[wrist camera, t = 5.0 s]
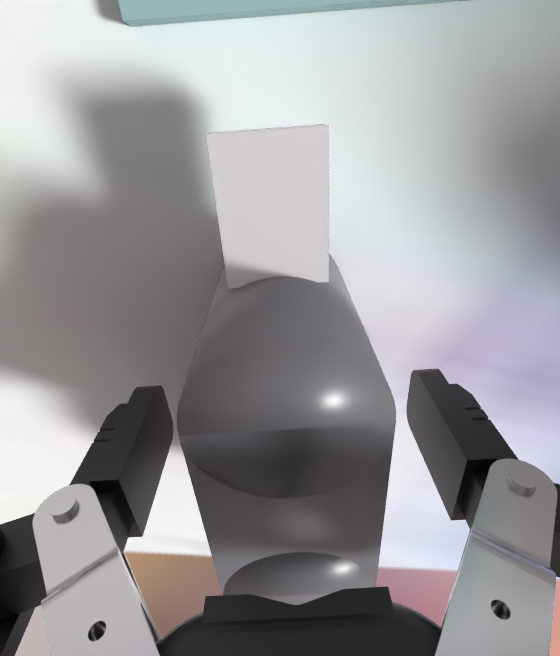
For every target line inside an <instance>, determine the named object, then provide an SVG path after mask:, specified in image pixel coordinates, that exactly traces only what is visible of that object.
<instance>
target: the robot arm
mask: <svg viewBox="0 0 560 656" xmlns="http://www.w3.org/2000/svg"><path fill="white" fill-rule="evenodd" d="M407 419H408V423H409V426H410V429H411V431H412V433H413V436H414V438H415V440H416V442H417V445H418V447H419V449H420V451H421V454H422V456H423V458H424V460H425V463H426V465H427V467H428V469H429V472H430V474H431V476H432V479H433V481H434V483H435V485H436V488H437V490H438V492H439V494H440V497H441V499H442V501H443V503H444V506H445V508H446V510H447V512H448V515H449V517H450V519H451V520H465V519H466V522H467V524H468V526H469V528H470V532H469V535H468V538H467V541H466V545H465V548H464V551H463V555H462V558H461V561H460V565H459V568H458V571H457V575H456V578H455V582H454V585H453V589H452V592H451V595H450V598H449V602H448V605H447V608H446V611H445V614H444V618H443V621H442V624H441V627H439V626H438V625H437V624H436V623H434V622H433V621H431V620H430V619H428V618H427V617H426V616H424V615H422V614H421V613H419V612H417V611H415V610H413V609H411V608H409V607H407V606H404V605H401V604H399V603H395V602H392V601H391V597H390V593H389V589H388V587H371V588H352V589H342V590H339V591H336V592H333V593H331V594H328V595H325V596H322V597H320V598H317V599H314V600H312V601H309V602H306V603H303V604H300V605H292V604H288V603H284V602H280V601H276V600H272V599H268V598H264V597H260V596H256V595H252V594H242V595H223V596H206V598H205V605H204V612H202V613H200V614H197V615H195V616H193V617H191V618H189V619H187V620H185V621H184V622H183V623H181V624H180V625H178V626H177V627H175V628H174V629H173V630H172V631H171V632H170V633H168V634H167V635H166V636H165V637H164V638H163V639H162V640H161V638H160V636H159V633H158V631H157V629H156V626H155V624H154V622H153V620H152V618H151V615H150V613H149V611H148V608H147V606H146V604H145V601H144V599H143V596H142V594H141V592H140V589H139V587H138V584H137V582H136V580H135V577H134V575H133V572H132V570H131V568H130V565H129V563H128V561H127V558H126V556H125V553H124V548H125V545H126V542H127V539H128V537H142V536H143V533H144V530H145V526H146V523H147V520H148V517H149V513H150V510H151V507H152V504H153V500H154V497H155V494H156V491H157V487H158V484H159V481H160V478H161V474H162V471H163V468H164V465H165V461H166V458H167V455H168V452H169V448H170V445H171V442H172V438H173V421H172V418H171V414H170V410H169V407H168V403H167V400H166V396H165V393H164V389H163V387H162V386H145V387H137V388H135V390H134V392H133V394H132V396H131V398H130V400H129V402H128V404H120V405H118V406H117V407H116V408H115V409H114V410H113V411H112V412H111V413H110V414H109V415H108V416H107V417H106V419H105V421H104V423H103V425H102V427H101V428H100V432H98V434H97V436H96V438H95V439H94V443H92V445H91V447H90V448H89V450H88V452H87V454H86V456H85V458H84V459H83V461H82V463H81V465H80V467H79V469H78V470H77V472H76V474H75V476H74V478H73V480H72V481H71V483H70V485H69V486H67V487H64V488H62V489H60V490H58V491H56V492H54V493H53V494H52V495H50V496H49V497H48V498H47V499H46V500H44V502H43V503H42V504H41V505H40V506H39V508H38V509H37V511H36V513H33V514H31V515H28V516H25V517H22V518H19V519H16V520H13V521H10V522H7V523H4V524H1V525H0V656H15V653H16V651H17V648H18V646H19V644H20V642H21V639H22V637H23V635H24V632H25V630H26V628H27V625H28V623H29V620H30V618H31V616H32V614H33V611H34V609H35V607H37V606H39V605H41V609H42V615H43V621H44V626H45V631H46V636H47V642H48V646H49V652H50V656H549V653H550V642H551V632H552V621H553V610H554V599H555V588H556V577H560V485H559V484H556V483H553V482H552V480H551V479H550V478H549V477H548V476H547V475H546V474H545V473H544V472H543V471H541V470H540V469H538V468H537V467H535V466H533V465H531V464H529V463H527V462H524V461H521V460H518V458H517V457H516V455H515V454H514V453H513V451H512V450H511V448H510V447H509V446H508V444H507V443H506V441H505V440H504V439H503V437H502V436H501V434H500V433H499V432H498V430H497V429H496V428H495V426H494V425H493V423H492V422H491V421H490V420H488V416H487V415H486V414H485V412H484V411H483V409H481V407H480V405H479V404H478V402H477V401H476V400H475V398H474V397H473V395H472V394H471V393H469V392H468V391H467V390H465V389H464V388H462V387H461V386H460V385H458V384H449V383H448V382H447V380H446V379H445V377H444V376H443V374H442V373H441V371H440V370H439V369H426V370H414V371H412V374H411V379H410V386H409V394H408V401H407Z"/></svg>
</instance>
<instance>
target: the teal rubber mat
mask: <svg viewBox="0 0 560 656" xmlns="http://www.w3.org/2000/svg"><path fill="white" fill-rule="evenodd" d="M452 1H464V0H118V2H119V7H120V12H121V16H122V21H123V22H125V23H127V24H128V25H130V26H131V27H134V26H146V25H159V24H172V23H184V22H197V21H210V20H223V19H235V18H248V17H261V16H274V15H286V14H299V13H312V12H324V11H337V10H350V9H363V8H375V7H388V6H401V5H414V4H426V3H439V2H452Z"/></svg>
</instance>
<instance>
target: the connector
mask: <svg viewBox="0 0 560 656" xmlns="http://www.w3.org/2000/svg"><path fill="white" fill-rule="evenodd" d="M206 140H207V147H208V154H209V161H210V168H211V174H212V181H213V188H214V195H215V202H216V209H217V216H218V222H219V229H220V236H221V243H222V250H223V257H224V264H225V265H224V267H223V269H222V272H221V275H220V278H219V281H218V284H217V287H216V290H215V293H214V296H213V299H212V303H211V306H210V309H209V312H208V315H207V318H206V321H205V324H204V327H203V330H202V333H201V337H200V340H199V343H198V346H197V349H196V352H195V355H194V358H193V361H192V364H191V367H190V371H189V374H188V377H187V380H186V383H185V386H184V389H183V392H182V395H181V398H180V401H179V405H178V411H177V429H178V434H179V438H180V442H181V446H182V449H183V453H184V456H185V460H186V464H187V467H188V471H189V474H190V478H191V482H192V485H193V489H194V493H195V496H196V500H197V503H198V507H199V511H200V514H201V518H202V521H203V525H204V529H205V532H206V536H207V539H208V543H209V547H210V550H211V554H212V558H213V561H214V565H215V568H216V572H217V575H218V579H219V583H220V586H221V590H222V593H223V595H242V594H252V595H256V596H260V597H264V598H268V599H272V600H276V601H280V602H284V603H288V604H292V605H300V604H303V603H306V602H309V601H312V600H314V599H317V598H320V597H322V596H325V595H328V594H331V593H333V592H336V591H339V590H342V589H352V588H371V587H376V579H377V570H378V563H379V555H380V546H381V538H382V530H383V522H384V514H385V505H386V497H387V489H388V481H389V473H390V465H391V456H392V448H393V440H394V432H395V424H396V409H395V402H394V399H393V396H392V393H391V390H390V388H389V385H388V383H387V381H386V378H385V376H384V374H383V371H382V369H381V367H380V364H379V362H378V360H377V357H376V355H375V353H374V351H373V348H372V346H371V344H370V341H369V339H368V337H367V334H366V332H365V330H364V327H363V325H362V323H361V320H360V318H359V316H358V313H357V311H356V309H355V306H354V304H353V302H352V299H351V297H350V295H349V292H348V290H347V288H346V285H345V283H344V281H343V278H342V276H341V274H340V271H339V269H338V267H337V265H336V263H335V261H334V260H333V258H332V257H331V255H330V254H329V126H328V125H323V124H320V125H306V126H292V127H279V128H265V129H252V130H238V131H225V132H213V133H209V134H206Z"/></svg>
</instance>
